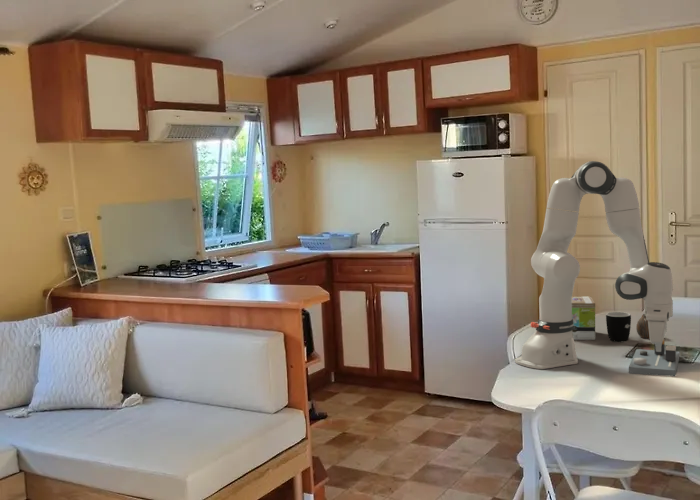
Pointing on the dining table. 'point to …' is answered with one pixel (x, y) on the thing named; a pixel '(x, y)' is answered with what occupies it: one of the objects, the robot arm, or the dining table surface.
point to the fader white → (670, 353)
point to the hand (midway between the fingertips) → (658, 350)
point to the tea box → (583, 318)
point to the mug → (618, 326)
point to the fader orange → (662, 348)
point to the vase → (643, 327)
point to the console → (653, 363)
